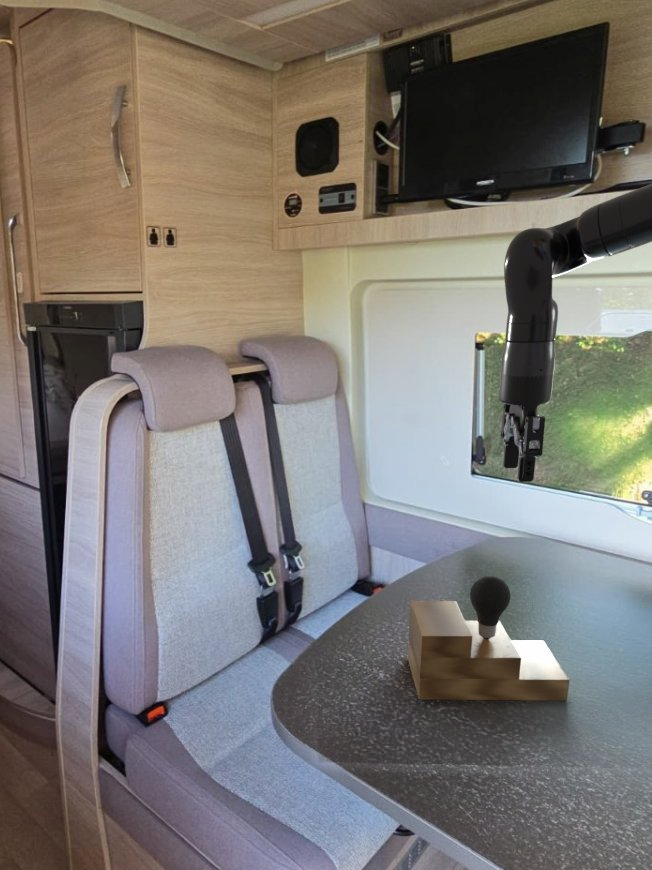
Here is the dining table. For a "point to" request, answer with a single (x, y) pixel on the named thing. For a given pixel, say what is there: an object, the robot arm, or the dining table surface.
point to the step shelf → (527, 688)
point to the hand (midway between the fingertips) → (517, 474)
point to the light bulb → (489, 603)
